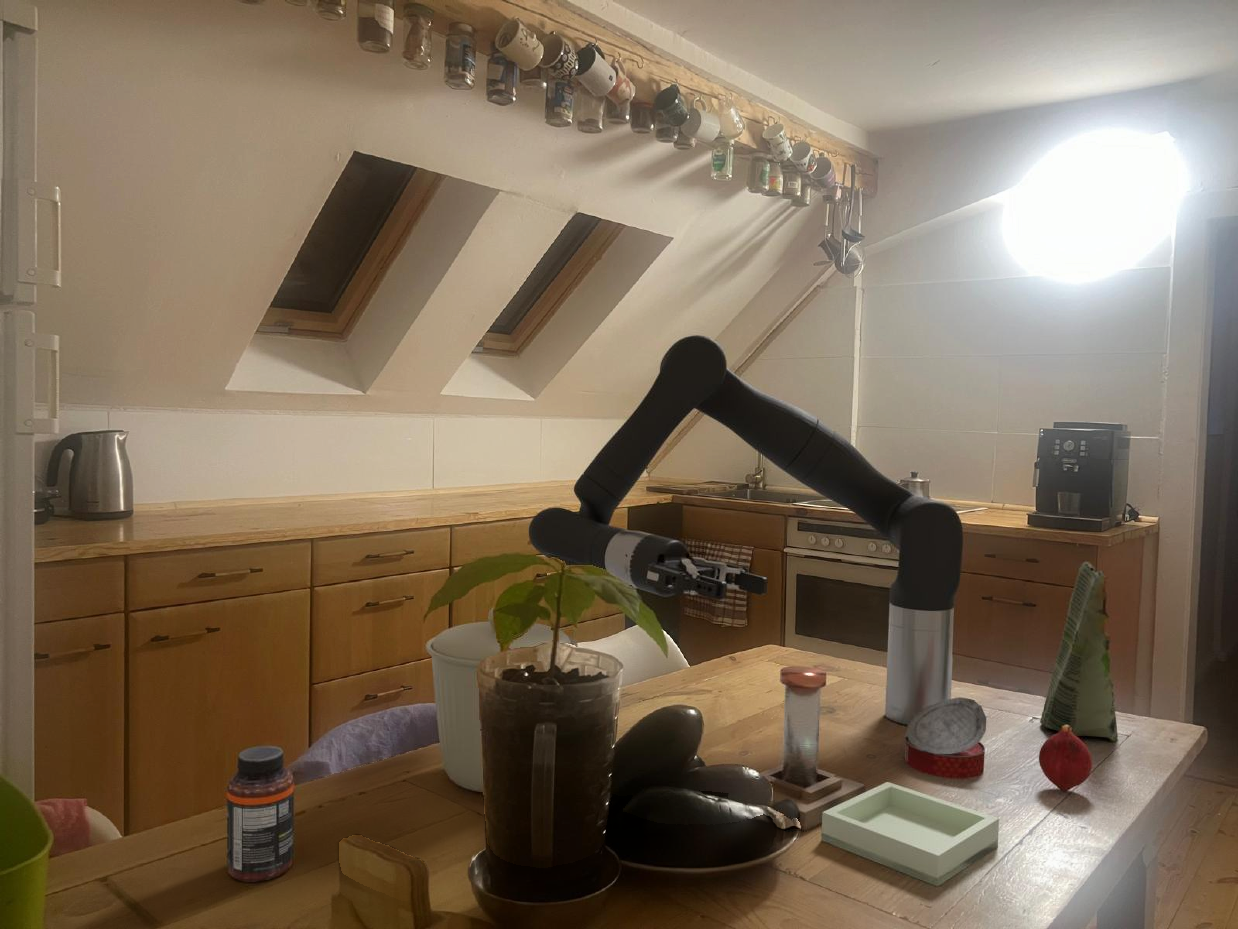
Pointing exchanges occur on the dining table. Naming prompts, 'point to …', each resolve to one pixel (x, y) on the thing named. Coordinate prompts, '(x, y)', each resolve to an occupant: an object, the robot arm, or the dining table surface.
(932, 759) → the canned food
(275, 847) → the supplement bottle
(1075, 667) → the pouch
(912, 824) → the tray
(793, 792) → the brown socket base
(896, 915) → the dining table surface
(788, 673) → the pin
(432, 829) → the dining table surface
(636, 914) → the dining table surface
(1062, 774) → the onion
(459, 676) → the canister
